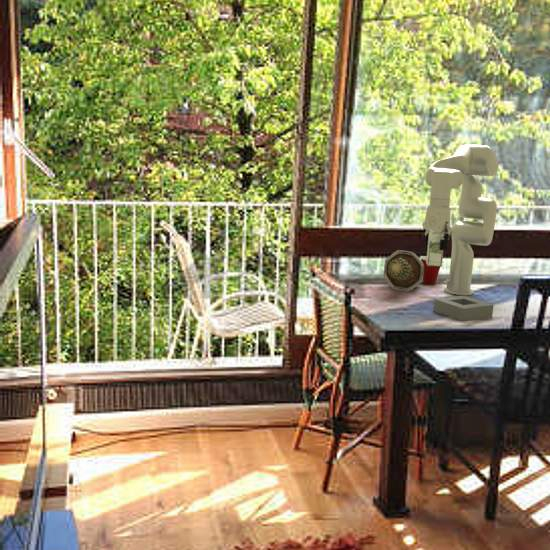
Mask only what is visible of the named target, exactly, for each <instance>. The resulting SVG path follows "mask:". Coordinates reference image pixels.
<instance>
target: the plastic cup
mask: <svg viewBox="0 0 550 550" xmlns="http://www.w3.org/2000/svg"><path fill="white" fill-rule="evenodd" d="M419 259H420V260H421V261H422V262H423V265H424V273H423V281H422V283H423V284H425V285H433V286H434V285H436V283H437V279H438V276H439V273H440V269H441V267H439V266H427V263H426V260H427V255H425V256H424V255H420V257H419ZM443 262H444V259H442V263H443Z"/></svg>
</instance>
